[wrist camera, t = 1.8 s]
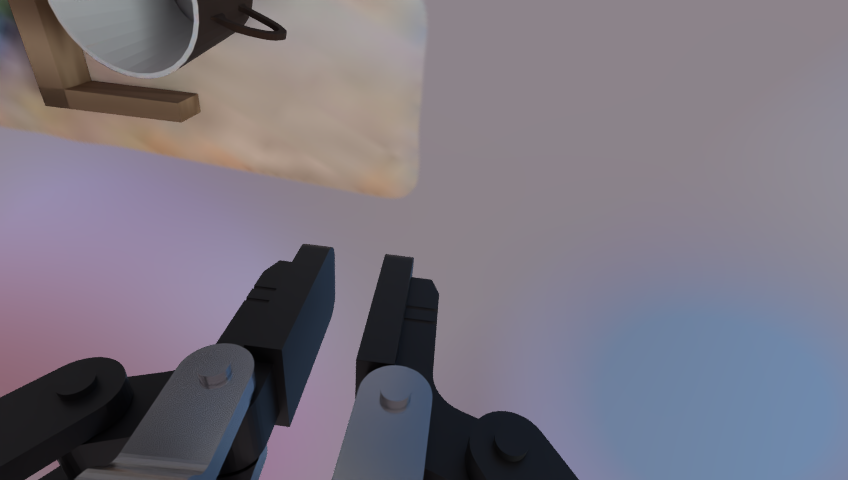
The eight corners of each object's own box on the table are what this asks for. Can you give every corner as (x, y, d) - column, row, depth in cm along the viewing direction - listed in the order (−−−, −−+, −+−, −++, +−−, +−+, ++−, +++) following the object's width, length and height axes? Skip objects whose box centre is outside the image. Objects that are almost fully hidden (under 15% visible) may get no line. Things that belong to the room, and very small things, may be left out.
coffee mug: (132, -8, 33) (17, 1, 25) (182, -118, 29) (67, -151, 21) (263, 101, 37) (203, 141, 28) (323, 15, 33) (274, 32, 24)
